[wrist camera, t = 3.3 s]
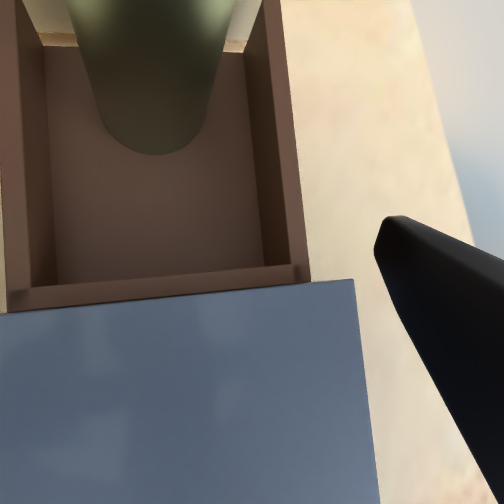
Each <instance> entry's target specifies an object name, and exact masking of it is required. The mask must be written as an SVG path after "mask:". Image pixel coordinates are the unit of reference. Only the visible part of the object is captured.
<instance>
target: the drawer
mask: <svg viewBox="0 0 504 504" xmlns="http://www.w3.org/2000/svg"><path fill="white" fill-rule="evenodd" d="M37 32H49V33H72V34H75V33H74V30H73V27H72V24H71V20H70V17H69V14H68V11H67V8H66V5H65V2H64V0H0V178H1V197H2V217H3V237H4V256H5V276H6V301H7V312H8V313H14V312H23V311H33V310H43V309H53V308H63V307H73V306H83V305H92V304H102V303H112V302H122V301H132V300H142V299H152V298H161V297H171V296H181V295H191V294H201V293H211V292H221V291H230V290H240V289H250V288H260V287H270V286H280V285H290V284H300V283H309V282H311V275H310V266H309V258H308V249H307V240H306V231H305V222H304V213H303V204H302V195H301V186H300V177H299V168H298V159H297V149H296V140H295V131H294V122H293V113H292V104H291V95H290V86H289V77H288V68H287V59H286V50H285V41H284V32H283V23H282V14H281V4H280V0H236V2H235V6H234V10H233V13H232V17H231V21H230V25H229V28H228V32H227V36H226V40H235V41H247V44H246V47H245V49H244V52H243V53H229V52H222V54H221V58H220V62H219V66H218V69H217V73H216V77H215V80H214V84H213V88H212V92H211V95H210V99H209V103H208V107H207V110H206V114H205V118H204V121H203V124H202V127H201V129H200V131H199V132H198V134H197V135H196V136H195V138H194V139H193V140H192V141H191V142H190V143H188V144H187V145H186V146H184V147H183V148H181V149H179V150H177V151H174V152H171V153H167V154H145V153H141V152H138V151H135V150H132V149H130V148H128V147H127V146H125V145H123V144H122V143H120V142H119V141H118V140H117V139H116V138H115V137H113V135H112V134H111V133H110V132H109V131H108V129H107V128H106V126H105V125H104V123H103V120H102V118H101V115H100V112H99V109H98V106H97V103H96V100H95V96H94V93H93V90H92V87H91V84H90V81H89V77H88V74H87V71H86V68H85V65H84V62H83V58H82V55H81V52H80V49H79V47H61V46H43V45H42V42H41V40H40V38H39V36H38V34H37Z"/></svg>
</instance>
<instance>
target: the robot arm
mask: <svg viewBox="0 0 504 504" xmlns="http://www.w3.org/2000/svg"><path fill="white" fill-rule="evenodd" d="M374 257H375V259H376V262H377V264H378V267H379V269H380V272H381V274H382V277H383V279H384V282H385V284H386V287H387V290H388V292H389V295H390V297H391V300H392V302H393V304H394V307H395V309H396V311H397V313H398V315H399V317H400V319H401V322H402V323H403V325H404V327H405V329H406V331H407V333H408V335H409V337H410V338H411V340H412V342H413V344H414V346H415V348H416V350H417V352H418V354H419V355H420V357H421V359H422V361H423V363H424V365H425V367H426V369H427V370H428V372H429V374H430V376H431V378H432V380H433V382H434V384H435V385H436V387H437V389H438V391H439V393H440V395H441V397H442V399H443V401H444V402H445V404H446V406H447V408H448V410H449V412H450V414H451V416H452V417H453V419H454V421H455V423H456V425H457V427H458V429H459V431H460V432H461V434H462V436H463V438H464V440H465V442H466V444H467V446H468V448H469V449H470V451H471V453H472V455H473V457H474V459H475V461H476V463H477V464H478V466H479V468H480V470H481V472H482V474H483V476H484V478H485V479H486V481H487V483H488V485H489V487H490V489H491V491H492V493H493V495H494V496H495V498H496V500H497V502H498V504H504V260H502V259H500V258H497V257H495V256H493V255H491V254H489V253H486V252H484V251H482V250H480V249H478V248H475V247H473V246H471V245H469V244H466V243H464V242H462V241H460V240H457V239H455V238H453V237H451V236H449V235H446V234H444V233H442V232H440V231H437V230H435V229H433V228H431V227H428V226H426V225H424V224H422V223H420V222H417V221H415V220H413V219H411V218H408V217H406V216H402V215H401V216H388V217H386V218H385V219H384V220H383V221H382V224H381V227H380V230H379V233H378V236H377V239H376V242H375V245H374Z"/></svg>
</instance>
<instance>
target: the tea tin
mask: <svg viewBox="0 0 504 504" xmlns="http://www.w3.org/2000/svg"><path fill="white" fill-rule="evenodd" d="M64 2H65V5H66V8H67V11H68V14H69V17H70V20H71V24H72V27H73V30H74V33H75V36H76V39H77V43H78V46H79V49H80V52H81V55H82V58H83V62H84V65H85V68H86V71H87V74H88V77H89V81H90V84H91V87H92V90H93V93H94V96H95V100H96V103H97V106H98V109H99V112H100V115H101V118H102V120H103V123H104V125H105V126H106V128H107V129H108V131H109V132H110V133H111V134H112V135H113V137H115V138H116V139H117V140H118V141H119V142H120V143H122V144H123V145H125V146H127V147H128V148H130V149H132V150H135V151H138V152H141V153H145V154H167V153H171V152H174V151H177V150H179V149H181V148H183V147H184V146H186V145H187V144H188V143H190V142H191V141H192V140H193V139H194V138H195V136H196V135H197V134H198V132H199V131H200V129H201V127H202V124H203V121H204V118H205V114H206V110H207V107H208V103H209V99H210V95H211V92H212V88H213V84H214V80H215V77H216V73H217V69H218V66H219V62H220V58H221V54H222V51H223V47H224V43H225V40H226V36H227V32H228V28H229V25H230V21H231V17H232V13H233V10H234V6H235V2H236V0H64Z"/></svg>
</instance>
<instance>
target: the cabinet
mask: <svg viewBox="0 0 504 504" xmlns="http://www.w3.org/2000/svg"><path fill="white" fill-rule="evenodd" d="M0 504H380V497H379V489H378V480H377V472H376V464H375V455H374V447H373V438H372V430H371V421H370V413H369V405H368V396H367V388H366V379H365V371H364V362H363V354H362V346H361V337H360V329H359V320H358V312H357V303H356V295H355V287H354V280H353V279H342V280H329V281H317V282H309V283H300V284H290V285H280V286H270V287H260V288H250V289H240V290H230V291H221V292H211V293H201V294H191V295H181V296H171V297H161V298H152V299H142V300H132V301H122V302H112V303H102V304H92V305H83V306H73V307H63V308H53V309H43V310H33V311H23V312H14V313H0Z"/></svg>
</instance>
